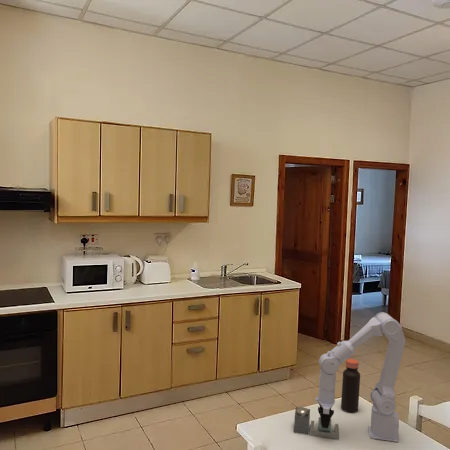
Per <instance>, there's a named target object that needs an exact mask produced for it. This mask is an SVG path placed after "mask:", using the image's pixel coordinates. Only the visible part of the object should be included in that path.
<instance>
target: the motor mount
mask: <svg viewBox="0 0 450 450" xmlns="http://www.w3.org/2000/svg"><path fill="white" fill-rule="evenodd" d="M310 419H311V409H310V408H307V407H305V406H304V407H303V406H302V407H301V406H300V407H298V406H296V407H295V411H294V419H293V421H294V422H293V424H294V425H293V433H297V434H304V435H309V434H310V435H309V436H311V437H315V438H316V437H318V438H323V439H324V438H325V439H329V440H336V441H337V440H338V441H339V440H340V427H339V424H338V423H334V431H332V430H331V431H324V430H318V428H315V420H311V421H310ZM309 430H310V431H309Z"/></svg>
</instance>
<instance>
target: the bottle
mask: <svg viewBox="0 0 450 450" xmlns="http://www.w3.org/2000/svg"><path fill="white" fill-rule="evenodd" d="M359 363H360V362H359V361H358V360H356V359H354V358H348V359H347V360H345V370H343V371H342V385H341V386H342V387H341V399H340V400H341V401H340V403H341V404H340V409H341V410H343V411H344V412H345V413H351V414H353V413H357V412H358V411H359V403H360V401H359V399H360V386H361V373H360V372H359Z"/></svg>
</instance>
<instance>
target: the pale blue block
mask: <svg viewBox="0 0 450 450" xmlns="http://www.w3.org/2000/svg"><path fill="white" fill-rule="evenodd" d="M317 423H318V424H317V430H324V431H331V432H332V418H331V419H330V423H329V426H328V428H322V425H321V418H320V416H318V422H317Z"/></svg>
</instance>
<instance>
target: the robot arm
mask: <svg viewBox="0 0 450 450" xmlns="http://www.w3.org/2000/svg"><path fill="white" fill-rule="evenodd" d="M383 334H384V336H385V337H386V338H387V340H388V344H387V348H386V353H385V357H384V360H383V364H382V369H381V373H380V376H379V380H378V382H376V383H375V385H374V388H373V389H372V390H371V391H370V400H371V402H372V406H371V414H370V417H371V418H370V425H368V426H367V429H368V433H369V438H370V439H375V440H381V441H389V442H395V443H396V442H397V443H398V442H399V427H400V416H399V413H398V412H397V411H396V409H397V408H396V392H395V386H396V381H397V378H398V377H397V376H398V374H399V373H398V372H399V371H400V370H399V369H400V365H401V361H402V358H403V353H404V349H405V346H406V337H405V333H404V331H403V326H402V325H401V324H400V323H399V321H398V320H396V319H394V317H392V316H391V315H390V314H389V313H387V312H383V311H381V312H378V313H376V315H375V316H373V317H372V318H370V320H369V321H368V322H367V323H366V324H365V325H364V326H363V327H361V329H359V330H358V331H357V332H356V333H354V335H353V336H352V337H350V338H349V339H348V340H341V342H340V341H338V342H337V343H336V344H337V345H336V346H335V347H333V348H332V349H331V350H328V351H326V353H323V354H321V355H320V357H319V358H318V365H320V367H319V369H320V370H319V378H318V396H316V397H314V401H315V402H317V403H318V405H319V406H318V407H317V412H318V414H319V417H320V418H321V425H322V428H328V426H329V423H330V419H331V420H332V417H333V416H334V414H335V410H334V409H332V408H333V406H334V405H335V403H336V400H335V396H336V381H337V380H336V376H337V375H336V373H337V372H338V371H339V367H340V366H341V365H342V364H343V363H345V362H346V360H347V359H350V357H352V356H353V355H354V354H355V349H356V348H358V347H359V346H360V345H362V344H363V343H364V342H366V341H367V340H369V339H370V338H372V337H383Z"/></svg>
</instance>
